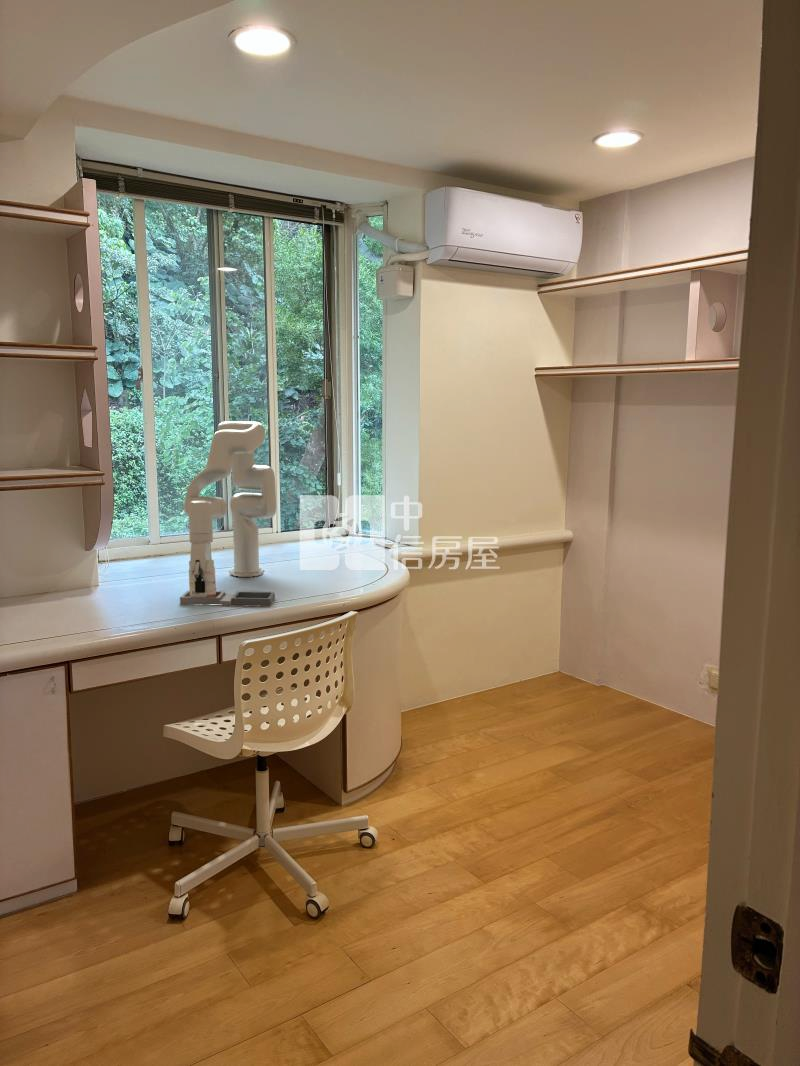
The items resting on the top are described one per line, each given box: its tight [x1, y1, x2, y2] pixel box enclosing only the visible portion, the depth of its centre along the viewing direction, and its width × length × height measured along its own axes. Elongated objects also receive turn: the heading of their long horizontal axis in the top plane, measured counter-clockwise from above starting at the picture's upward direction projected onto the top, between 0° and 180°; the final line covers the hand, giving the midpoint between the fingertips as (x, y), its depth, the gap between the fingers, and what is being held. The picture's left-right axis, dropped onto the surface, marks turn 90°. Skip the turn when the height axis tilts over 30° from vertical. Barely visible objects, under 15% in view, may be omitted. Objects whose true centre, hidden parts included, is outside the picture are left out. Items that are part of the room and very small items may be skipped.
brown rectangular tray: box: [179, 589, 226, 605], centre depth 267 cm, size 9×13×2 cm
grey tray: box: [219, 591, 276, 607], centre depth 267 cm, size 9×17×2 cm, turn 89°
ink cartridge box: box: [188, 559, 217, 597], centre depth 266 cm, size 9×5×15 cm, turn 101°
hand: (202, 589), depth 267 cm, fingers closed on ink cartridge box, 5 cm apart
